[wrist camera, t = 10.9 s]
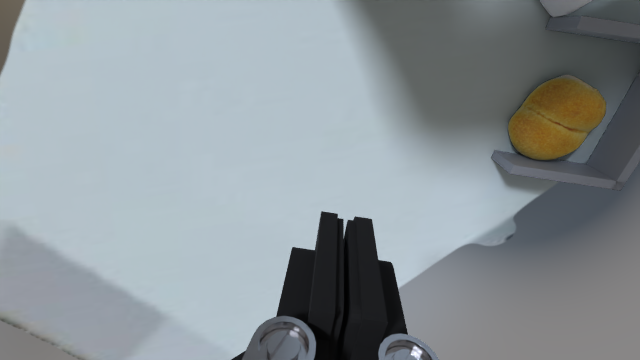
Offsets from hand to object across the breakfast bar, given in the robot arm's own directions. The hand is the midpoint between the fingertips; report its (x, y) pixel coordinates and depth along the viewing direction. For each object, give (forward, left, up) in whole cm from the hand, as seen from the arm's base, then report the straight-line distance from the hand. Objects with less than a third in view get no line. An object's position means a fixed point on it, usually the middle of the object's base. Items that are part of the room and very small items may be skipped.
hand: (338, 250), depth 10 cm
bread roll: (-1, +23, -28) cm, 36 cm away
